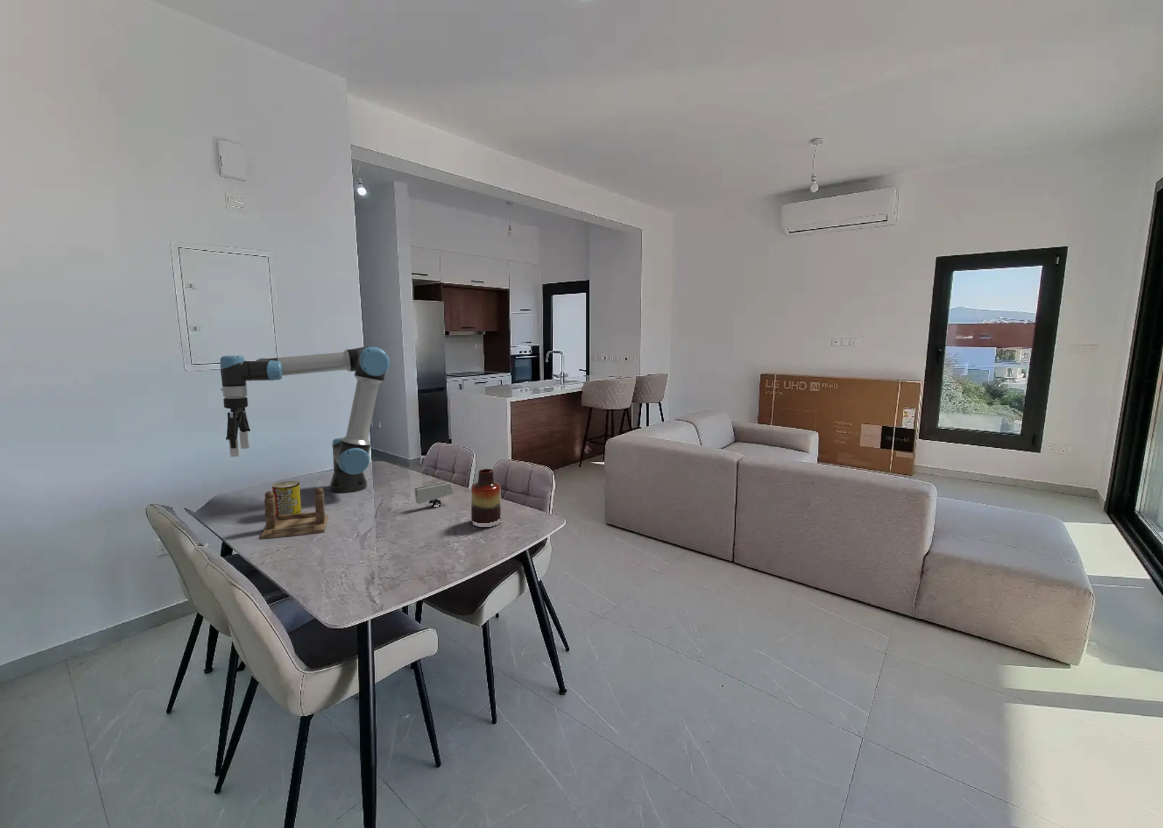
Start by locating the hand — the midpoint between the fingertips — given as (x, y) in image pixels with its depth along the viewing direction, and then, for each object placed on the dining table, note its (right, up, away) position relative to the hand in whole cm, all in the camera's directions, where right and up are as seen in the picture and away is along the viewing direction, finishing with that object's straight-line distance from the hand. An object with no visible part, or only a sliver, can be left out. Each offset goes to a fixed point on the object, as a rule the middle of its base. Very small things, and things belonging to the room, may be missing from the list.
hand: (240, 452), depth 195 cm
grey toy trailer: (+65, -20, +9) cm, 68 cm away
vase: (+94, -27, -2) cm, 98 cm away
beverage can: (+18, -24, +1) cm, 30 cm away
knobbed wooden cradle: (+28, -26, -12) cm, 40 cm away
